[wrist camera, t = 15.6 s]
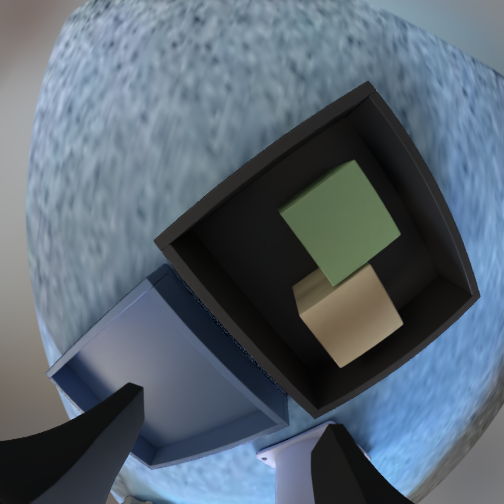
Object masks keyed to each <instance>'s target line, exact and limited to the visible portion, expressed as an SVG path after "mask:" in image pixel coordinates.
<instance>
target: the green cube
mask: <svg viewBox="0 0 504 504" xmlns="http://www.w3.org/2000/svg"><path fill="white" fill-rule="evenodd" d="M277 209H278V211H279V213H280V214H281V216H282V217H283V218H284V220H285V221H286V222H287V224H288V225H289V226H290V228H291V229H292V231H293V232H294V233H295V235H296V236H297V237H298V239H299V240H300V241H301V243H302V244H303V245H304V247H305V248H306V250H307V251H308V252H309V254H310V255H311V256H312V258H313V259H314V261H315V262H316V263H317V265H318V266H319V268H320V269H321V270H322V272H323V273H324V275H325V276H326V277H327V279H328V280H329V282H330V283H331V285H332V286H335V285H337V284H338V283H339V282H341V281H342V280H343V279H345V278H346V277H347V276H349V275H350V274H351V273H353V272H354V271H355V270H357V269H358V268H359V267H361V266H362V265H363V264H365V263H366V262H367V261H368V260H370V259H371V258H372V257H374V256H375V255H376V254H377V253H379V252H380V251H381V250H382V249H384V248H385V247H386V246H387V245H389V244H390V243H391V242H392V241H394V240H395V239H396V238H397V237H398V236H400V235H401V233H400V231H399V229H398V228H397V226H396V224H395V222H394V221H393V219H392V217H391V215H390V214H389V212H388V210H387V209H386V207H385V205H384V204H383V202H382V201H381V199H380V197H379V196H378V194H377V193H376V191H375V189H374V188H373V186H372V185H371V183H370V182H369V180H368V179H367V177H366V176H365V174H364V173H363V171H362V170H361V168H360V167H359V165H358V164H357V162H356V161H355V160H352V161H349V162H346V163H343V164H340V165H337V166H334V167H332V168H330V169H329V170H328V171H326V172H325V173H324V174H322V175H321V176H319V177H318V178H317V179H315V180H314V181H313V182H311V183H310V184H309V185H307V186H306V187H305V188H303V189H302V190H301V191H299V192H298V193H297V194H295V195H294V196H292V197H291V198H290V199H288V200H287V201H286V202H284V203H283V204H282V205H280V206H279V207H278V208H277Z"/></svg>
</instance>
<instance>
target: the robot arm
mask: <svg viewBox="0 0 504 504" xmlns="http://www.w3.org/2000/svg"><path fill="white" fill-rule="evenodd" d="M144 420H145V413H144V387H142V386H139V385H136V384H133V383H131V382H128V383H126V384H125V385H124V386H123V387H121V388H120V389H119V390H117V391H116V392H115V393H113V394H112V395H110V396H109V397H108V398H106V399H105V400H103V401H102V402H100V403H99V404H97V405H96V406H94V407H93V408H91V409H90V410H88V411H86V412H85V413H83V414H81V415H79V416H77V417H76V418H74V419H72V420H70V421H68V422H66V423H64V424H62V425H60V426H57V427H55V428H52V429H50V430H47V431H44V432H41V433H38V434H35V435H31V436H28V437H23V438H17V439H12V440H6V441H0V504H105V503H106V500H107V498H108V495H109V492H110V490H111V487H112V485H113V483H114V481H115V478H116V476H117V475H118V473H119V471H120V469H121V467H122V466H123V464H124V462H125V460H126V459H127V457H128V455H129V453H130V451H131V450H132V448H133V446H134V444H135V442H136V440H137V438H138V436H139V433H140V431H141V428H142V426H143V423H144ZM256 457H257V458H258V459H260V460H261V461H263V462H264V463H266V464H267V465H269V466H270V467H272V468H274V469H275V504H414V503H413V502H411V501H410V500H409V499H407V498H406V497H405V496H403V495H402V494H401V493H400V492H399V491H398V490H396V489H395V488H394V487H393V486H392V485H391V484H390V483H389V482H388V481H387V480H386V479H385V478H384V477H383V476H382V475H381V474H380V473H379V472H378V470H377V469H376V468H375V467H374V466H373V465H372V463H371V462H370V460H371V456H370V455H369V454H368V453H367V452H366V451H365V450H364V449H363V448H361V447H360V446H359V445H358V444H357V443H356V442H355V441H354V439H353V438H352V437H351V435H350V434H349V432H348V431H347V430H346V428H345V427H344V425H343V424H336V423H335V422H334V421H327V422H325V423H323V424H321V425H319V426H317V427H315V428H313V429H311V430H309V431H307V432H304V433H302V434H300V435H298V436H296V437H293V438H291V439H289V440H286V441H284V442H281V443H279V444H277V445H274V446H272V447H269V448H266V449H264V450H261V451H258V452H257V453H256Z"/></svg>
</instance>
